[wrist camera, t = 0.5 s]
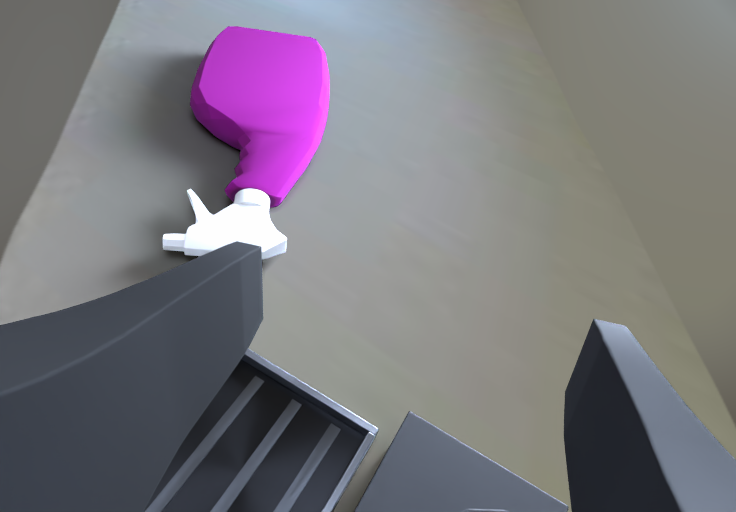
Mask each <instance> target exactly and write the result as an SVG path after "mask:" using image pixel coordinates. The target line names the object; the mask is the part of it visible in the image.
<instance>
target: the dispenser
mask: <svg viewBox="0 0 736 512" xmlns="http://www.w3.org/2000/svg"><path fill="white" fill-rule="evenodd" d="M567 511H568V506H567V505H565V504H564V503H562V502H560V501H559V500H557V499H555V498H554V497H552V496H550V495H549V494H547V493H545V492H544V491H542V490H540V489H539V488H537V487H535V486H534V485H532V484H530V483H529V482H527V481H525V480H524V479H522V478H520V477H519V476H517V475H515V474H514V473H512V472H510V471H509V470H507V469H505V468H504V467H502V466H500V465H499V464H497V463H495V462H494V461H492V460H490V459H489V458H487V457H485V456H484V455H482V454H480V453H479V452H477V451H475V450H474V449H472V448H470V447H469V446H467V445H465V444H464V443H462V442H460V441H459V440H457V439H455V438H454V437H452V436H450V435H449V434H447V433H445V432H444V431H442V430H440V429H439V428H437V427H435V426H434V425H432V424H430V423H429V422H427V421H425V420H424V419H422V418H420V417H419V416H417V415H415V414H414V413H412V412H410V411H409V412H408V414H407V416H406V418H405V420H404V421H403V423H402V425H401V427H400V429H399V430H398V432H397V434H396V436H395V438H394V440H393V441H392V443H391V445H390V447H389V449H388V451H387V452H386V454H385V456H384V458H383V460H382V461H381V463H380V465H379V467H378V469H377V471H376V472H375V474H374V476H373V478H372V480H371V481H370V483H369V485H368V487H367V489H366V491H365V492H364V494H363V496H362V498H361V500H360V502H359V503H358V505H357V507H356V509H355V511H354V512H567Z"/></svg>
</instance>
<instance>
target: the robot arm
mask: <svg viewBox="0 0 736 512" xmlns="http://www.w3.org/2000/svg"><path fill="white" fill-rule="evenodd" d="M262 320H263V291H262V246H257V245H252V244H248V243H243V242H239V241H236V242H233V243H230V244H227V245H225V246H223V247H220V248H218V249H216V250H213V251H211V252H209V253H207V254H204V255H202V256H200V257H198V258H196V259H193V260H191V261H189V262H187V263H185V264H182V265H180V266H178V267H176V268H173V269H171V270H169V271H167V272H164V273H162V274H160V275H158V276H155V277H153V278H150V279H148V280H145V281H143V282H140V283H138V284H135V285H133V286H130V287H128V288H125V289H123V290H120V291H118V292H115V293H112V294H110V295H107V296H104V297H101V298H98V299H95V300H92V301H89V302H86V303H83V304H80V305H76V306H73V307H70V308H67V309H63V310H60V311H56V312H53V313H49V314H45V315H41V316H37V317H32V318H28V319H24V320H20V321H16V322H12V323H8V324H4V325H0V512H144V510H145V508H146V506H147V505H148V503H149V501H150V499H151V497H152V495H153V493H154V491H155V490H156V488H157V486H158V484H159V482H160V481H161V479H162V477H163V475H164V474H165V472H166V470H167V468H168V467H169V465H170V463H171V461H172V459H173V458H174V456H175V454H176V452H177V451H178V449H179V447H180V446H181V444H182V443H183V441H184V440H185V438H186V437H187V435H188V433H189V432H190V430H191V429H192V428H193V426H194V425H195V423H196V422H197V421H198V419H199V418H200V416H201V415H202V414H203V412H204V411H205V409H206V408H207V407H208V405H209V404H210V402H211V401H212V400H213V398H214V397H215V395H216V394H217V393H218V391H219V390H220V389H221V387H222V386H223V384H224V383H225V382H226V380H227V379H228V377H229V376H230V374H231V373H232V372H233V370H234V369H235V367H236V366H237V365H238V363H239V362H240V360H241V359H242V357H243V356H244V354H245V353H246V351H247V349H248V347H249V345H250V343H251V341H252V340H253V338H254V336H255V334H256V332H257V330H258V328H259V326H260V324H261V322H262ZM564 443H565V453H566V462H567V472H568V481H569V490H570V499H571V508H572V512H736V460H735V459H734V458H733V457H732V456H731V455H730V454H729V453H728V451H727V450H726V449H725V448H724V447H723V446H722V445H721V444H720V443H719V442H718V440H717V439H716V438H715V437H714V436H713V435H712V434H711V433H710V432H709V430H708V429H707V428H706V427H705V426H704V425H703V424H702V423H701V421H700V420H699V419H698V418H697V417H696V416H695V414H694V413H693V412H692V411H691V410H690V408H689V407H688V406H687V405H686V404H685V402H684V401H683V400H682V399H681V398H680V396H679V395H678V394H677V393H676V391H675V390H674V389H673V387H672V386H671V385H670V384H669V382H668V381H667V380H666V379H665V377H664V376H663V375H662V373H661V372H660V371H659V369H658V368H657V367H656V365H655V364H654V363H653V361H652V360H651V359H650V358H649V356H648V355H647V354H646V352H645V351H644V349H643V348H642V347H641V345H640V344H639V343H638V341H637V340H636V339H635V337H634V336H633V335H632V334H631V332H630V331H629V330H628V329H627V327H626V326H624V325H619V324H614V323H610V322H605V321H601V320H596V319H593V322H592V324H591V327H590V329H589V332H588V335H587V337H586V340H585V342H584V345H583V347H582V350H581V353H580V355H579V358H578V360H577V363H576V365H575V368H574V371H573V373H572V376H571V378H570V381H569V383H568V386H567V389H566V391H565V409H564Z"/></svg>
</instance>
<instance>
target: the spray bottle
mask: <svg viewBox="0 0 736 512" xmlns="http://www.w3.org/2000/svg"><path fill="white" fill-rule="evenodd" d="M329 79H330V77H329V71H328V65H327V60H326V54H325V52H324V50H323V49H322V47H321V46H320V45H319V43H318V42H317V40H316V39H313V38H311V37H305V36H298V35H291V34H285V33H278V32H271V31H264V30H258V29H251V28H244V27H227V28H226V29H225V30H223V31H222V32H221V33H220V34H219V35H218V36H217V37H216V38H215V40H214V41H213V42H212V44H211V45H210V46H209V48H208V50H207V52H206V54H205V56H204V58H203V60H202V62H201V64H200V66H199V68H198V70H197V73H196V76H195V79H194V82H193V85H192V89H191V98H190V106H191V108H192V110H193V112H194V115H195V117H196V119H197V120H198V121H199V122H200V123H201V124H202V125H203V126H205V127H206V128H207V129H208V130H209V131H210V132H211V133H212V134H213V135H214V136H215V137H217V138H219V139H220V140H222V141H224V142H225V143H227V144H229V145H231V146H232V147H234V148H237V149H239V150H241V152H240V153H239V155H240V163H239V164H238V165H237V166H236V168H235V173H236V177H237V178H235V179H234V180H232V181H231V182H230V183H229V185H228V186H227V187H226V189H225V192H226V195H227V196H228V197H229V198H230V199H231V200H232V201H233V202H234V204H232V205H230V206H228V207H227V208H225V209H223V210H222V211H220V212H218V213H217V214H215V215H213V214H211V213H209V212H208V210H207V209H206V207H205V206H204V204H203V203H202V202H201V200H200V199H199V197H198V196H197V195H196V194H195V193H194V192H193V191H192V189H190V190H187V194H188V197H189V199H190V202H191V205H192V207H193V210H194V212H195V215H196V224H194V225H192V226H190V227H188V230H187V233H186V234H164V236H163V249H164V250H174V251H184V254H185V255H192V256H202V255H204V254H207V253H209V252H211V251H213V250H216V249H218V248H220V247H223V246H225V245H227V244H230V243H233V242H236V241H239V242H243V243H248V244H252V245H257V246H262V260H264V259H267V258H270V257H273V256H276V255H279V254H282V253H285V252H286V241H287V238H286V237H285V236H284V235H282V234H281V233H280V232H279V231H277V230H276V229H275V227H274V225H273V224H272V222H271V220H270V216H269V208H270V207H276V206H278V205H280V203H281V202H282V201H283V199H284V198H285V196H286V195H287V194H288V192H289V191H290V190H291V188H292V187H293V186H294V184H295V183H296V182H297V180H298V179H299V177H300V176H301V175H302V173H303V172H304V171H305V169H306V168H307V166H308V164H309V162H310V161H311V159H312V157H313V155H314V154H315V152H316V150H317V148H318V146H319V144H320V141H321V139H322V136H323V132H324V129H325V125H326V121H327V114H328V108H329Z"/></svg>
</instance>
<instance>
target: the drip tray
mask: <svg viewBox="0 0 736 512" xmlns="http://www.w3.org/2000/svg"><path fill="white" fill-rule="evenodd" d="M378 430H379V429H378V428H376V427H375V426H373V425H371V424H370V423H368V422H367V421H365V420H363V419H362V418H360V417H358V416H357V415H355V414H354V413H352V412H350V411H349V410H347V409H345V408H344V407H342V406H341V405H339V404H337V403H336V402H334V401H332V400H331V399H329V398H328V397H326V396H324V395H323V394H321V393H320V392H318V391H316V390H315V389H313V388H311V387H310V386H308V385H307V384H305V383H303V382H302V381H300V380H298V379H297V378H295V377H294V376H292V375H290V374H289V373H287V372H285V371H284V370H282V369H281V368H279V367H277V366H276V365H274V364H272V363H271V362H269V361H268V360H266V359H264V358H263V357H261V356H259V355H258V354H256V353H255V352H253V351H251V350H250V349H247V351H246V353H245V354H244V356H243V357H242V359H241V360H240V362H239V363H238V365H237V366H236V367H235V369H234V370H233V372H232V373H231V374H230V376H229V377H228V379H227V380H226V382H225V383H224V384H223V386H222V387H221V389H220V390H219V391H218V393H217V394H216V395H215V397H214V398H213V400H212V401H211V402H210V404H209V405H208V407H207V408H206V409H205V411H204V412H203V414H202V415H201V416H200V418H199V419H198V421H197V422H196V423H195V425H194V426H193V428H192V429H191V430H190V432H189V433H188V435H187V437H186V438H185V440H184V441H183V443H182V444H181V446H180V447H179V449H178V451H177V452H176V454H175V456H174V458H173V459H172V461H171V463H170V465H169V467H168V468H167V470H166V472H165V474H164V475H163V477H162V479H161V481H160V482H159V484H158V486H157V488H156V490H155V491H154V493H153V495H152V497H151V499H150V501H149V503H148V505H147V506H146V508H145V510H144V512H333V510H334V509H335V507H336V505H337V503H338V502H339V500H340V498H341V496H342V495H343V493H344V491H345V490H346V488H347V486H348V484H349V483H350V481H351V479H352V477H353V476H354V474H355V472H356V470H357V469H358V467H359V465H360V463H361V462H362V460H363V458H364V457H365V455H366V453H367V451H368V450H369V448H370V446H371V444H372V443H373V441H374V439H375V437H376V435H377V432H378Z"/></svg>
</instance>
